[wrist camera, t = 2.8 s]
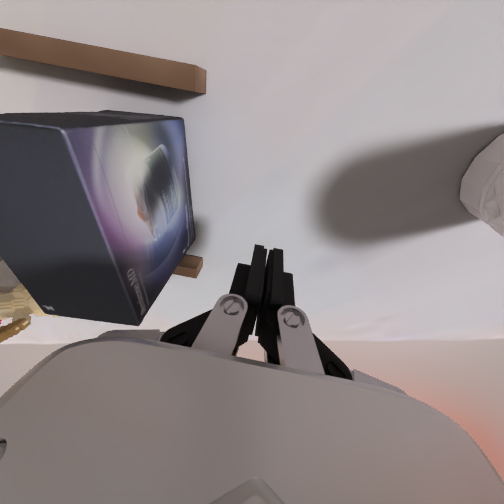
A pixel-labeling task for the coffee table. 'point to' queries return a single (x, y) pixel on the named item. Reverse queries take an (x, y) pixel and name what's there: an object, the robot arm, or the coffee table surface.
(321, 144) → the coffee table surface
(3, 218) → the small box
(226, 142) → the coffee table surface
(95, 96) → the coffee table surface
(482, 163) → the white cup
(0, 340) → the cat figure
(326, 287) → the coffee table surface
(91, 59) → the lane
